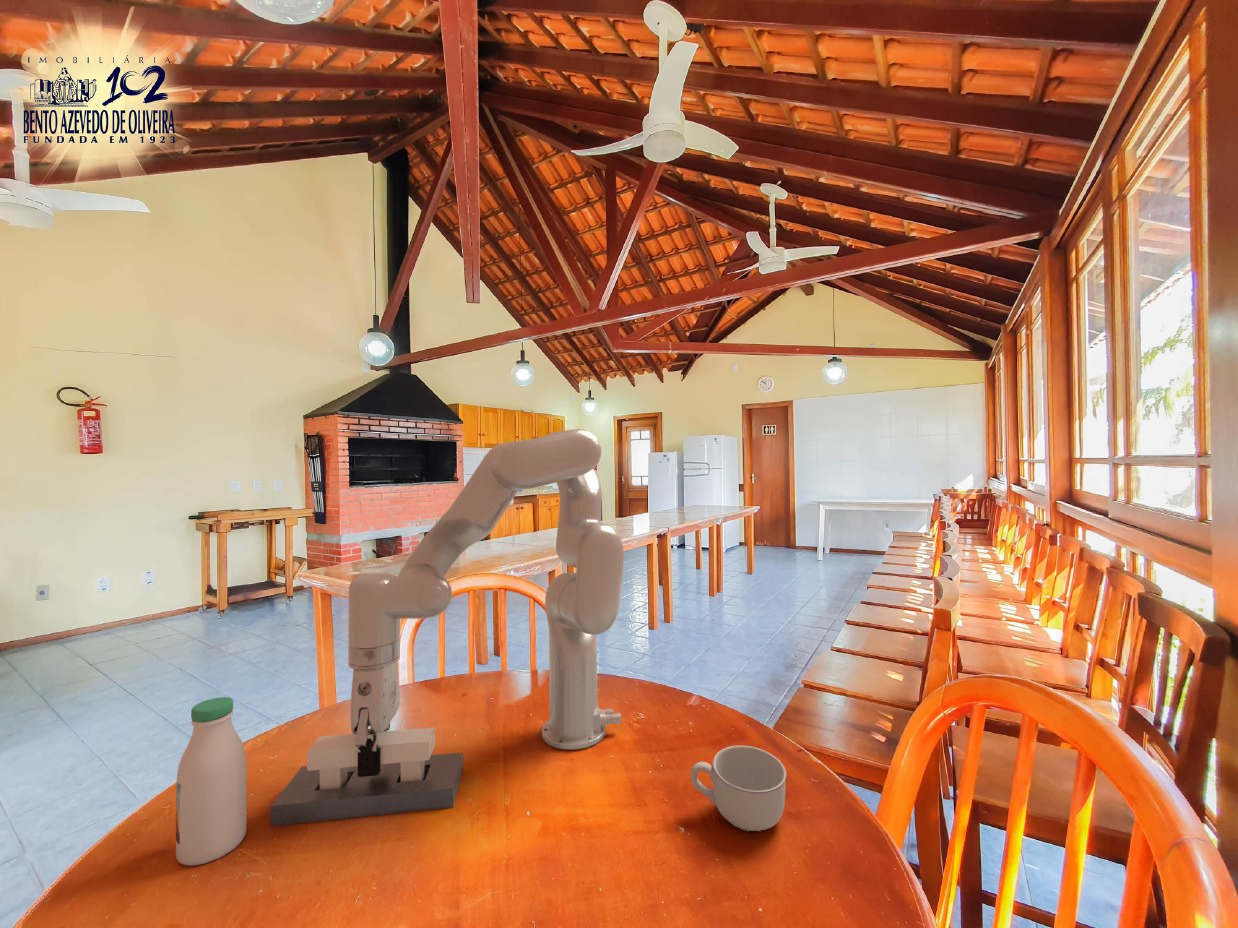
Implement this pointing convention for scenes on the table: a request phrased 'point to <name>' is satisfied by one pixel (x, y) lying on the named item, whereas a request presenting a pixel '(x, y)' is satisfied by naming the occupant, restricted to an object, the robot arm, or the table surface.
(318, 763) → the white peg bar
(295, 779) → the grey base board
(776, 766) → the teacup
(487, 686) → the table surface
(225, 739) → the milk bottle
